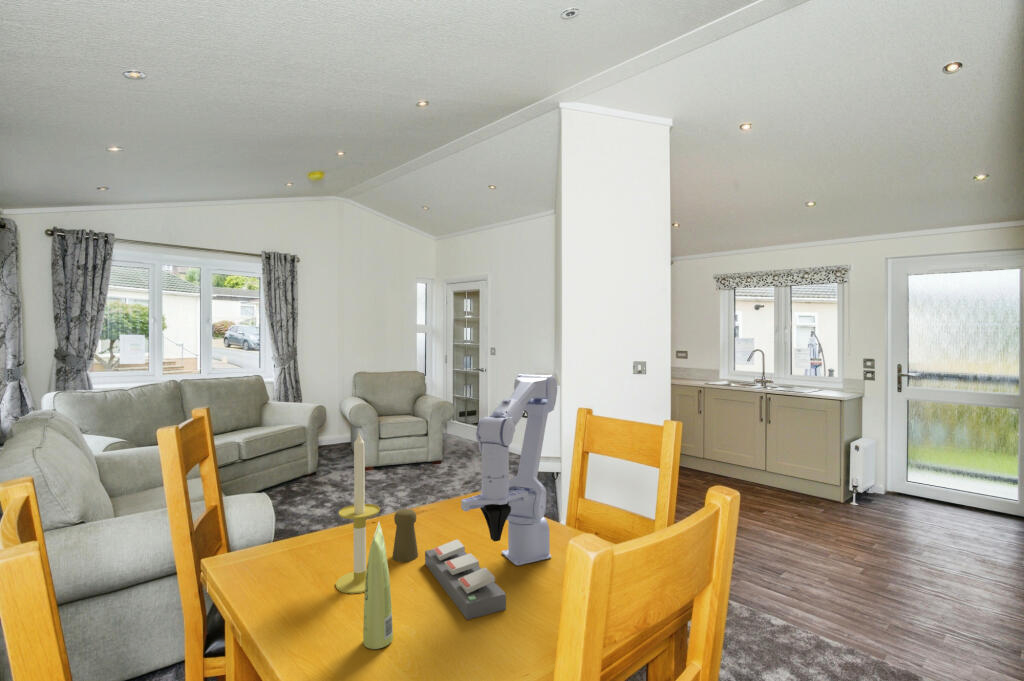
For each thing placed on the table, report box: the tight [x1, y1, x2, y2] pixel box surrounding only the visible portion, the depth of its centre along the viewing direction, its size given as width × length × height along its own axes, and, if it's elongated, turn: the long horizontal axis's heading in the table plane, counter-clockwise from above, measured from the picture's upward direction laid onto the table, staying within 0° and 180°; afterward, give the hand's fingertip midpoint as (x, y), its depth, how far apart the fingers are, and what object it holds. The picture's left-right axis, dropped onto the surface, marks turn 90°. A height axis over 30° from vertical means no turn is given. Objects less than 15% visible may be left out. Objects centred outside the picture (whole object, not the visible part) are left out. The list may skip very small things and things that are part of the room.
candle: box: [334, 431, 381, 595], centre depth 108 cm, size 10×10×32 cm
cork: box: [392, 508, 419, 563], centre depth 121 cm, size 6×6×11 cm
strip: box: [424, 548, 507, 621], centre depth 107 cm, size 8×26×4 cm, turn 27°
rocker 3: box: [458, 567, 496, 594], centre depth 100 cm, size 6×4×1 cm
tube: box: [362, 521, 394, 650], centre depth 87 cm, size 6×5×20 cm
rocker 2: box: [445, 552, 480, 575], centre depth 107 cm, size 6×4×1 cm
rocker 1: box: [432, 538, 466, 561], centre depth 114 cm, size 6×4×1 cm
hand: (495, 539), depth 106 cm, fingers closed
